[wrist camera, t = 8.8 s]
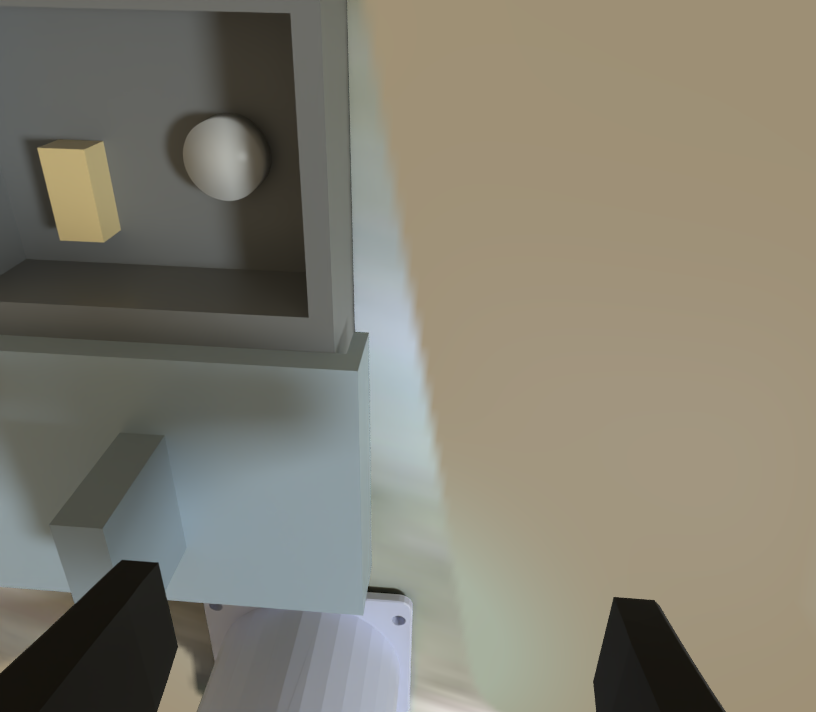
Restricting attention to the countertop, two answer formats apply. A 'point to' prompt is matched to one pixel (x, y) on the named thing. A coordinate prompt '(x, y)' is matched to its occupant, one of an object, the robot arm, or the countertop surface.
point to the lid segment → (187, 470)
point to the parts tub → (177, 172)
